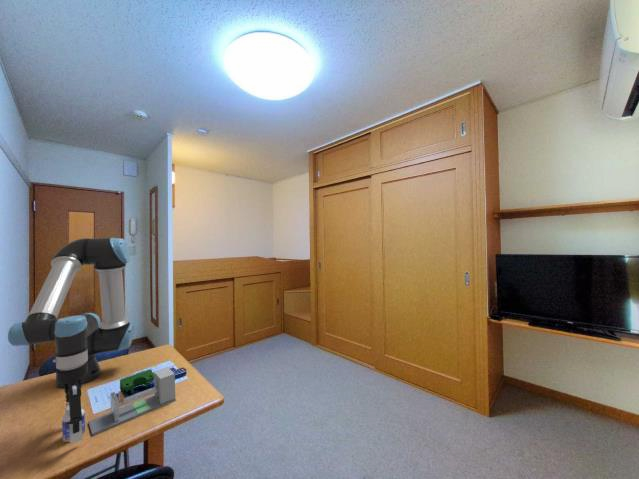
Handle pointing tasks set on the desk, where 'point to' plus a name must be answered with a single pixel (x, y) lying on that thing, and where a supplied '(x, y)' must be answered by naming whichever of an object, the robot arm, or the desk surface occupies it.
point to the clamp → (136, 380)
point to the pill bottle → (67, 427)
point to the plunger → (127, 400)
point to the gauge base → (140, 403)
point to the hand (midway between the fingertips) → (74, 430)
